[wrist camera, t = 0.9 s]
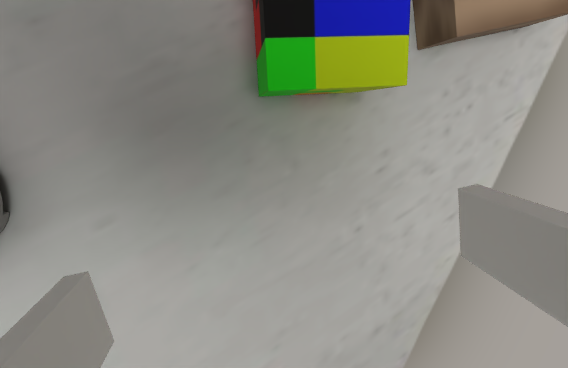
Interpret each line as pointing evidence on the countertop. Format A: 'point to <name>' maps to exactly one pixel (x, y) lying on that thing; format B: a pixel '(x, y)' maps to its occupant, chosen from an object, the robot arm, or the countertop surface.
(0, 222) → the blender
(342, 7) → the puzzle toy
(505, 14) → the walnut block
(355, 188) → the countertop surface
